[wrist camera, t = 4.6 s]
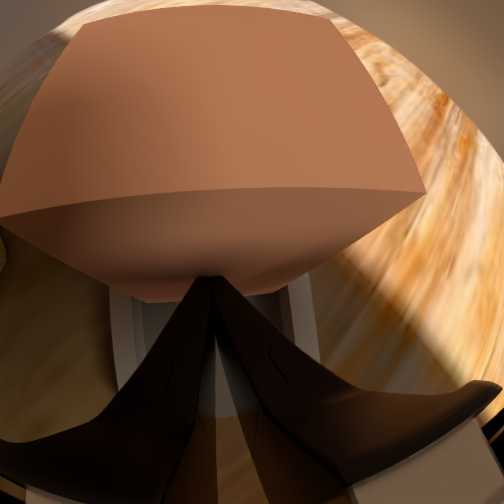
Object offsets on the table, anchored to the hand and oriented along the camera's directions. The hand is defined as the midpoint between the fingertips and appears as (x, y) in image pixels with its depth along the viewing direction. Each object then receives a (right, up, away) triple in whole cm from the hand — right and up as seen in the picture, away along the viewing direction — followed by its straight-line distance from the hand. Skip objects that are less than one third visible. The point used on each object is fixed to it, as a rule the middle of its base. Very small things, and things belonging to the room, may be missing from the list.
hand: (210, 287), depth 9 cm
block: (-1, +1, +7) cm, 7 cm away
